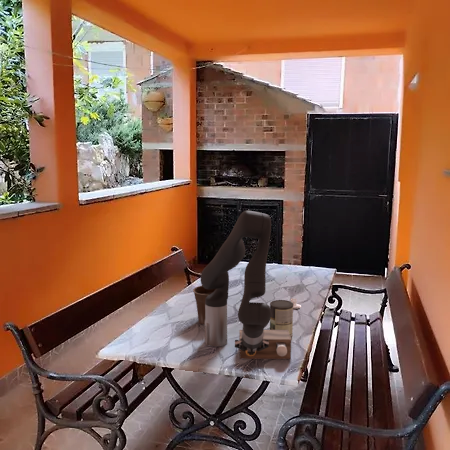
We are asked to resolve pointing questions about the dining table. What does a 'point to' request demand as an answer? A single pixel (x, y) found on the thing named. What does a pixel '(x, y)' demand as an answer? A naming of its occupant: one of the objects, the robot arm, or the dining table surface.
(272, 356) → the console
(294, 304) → the teacup and saucer
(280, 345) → the ivory button
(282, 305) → the coffee can
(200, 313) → the plant pot
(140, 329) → the dining table surface
